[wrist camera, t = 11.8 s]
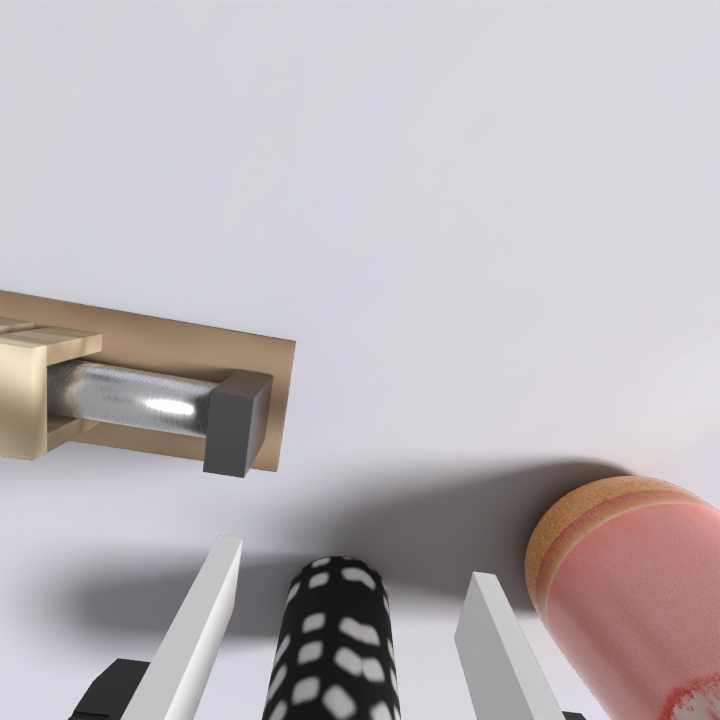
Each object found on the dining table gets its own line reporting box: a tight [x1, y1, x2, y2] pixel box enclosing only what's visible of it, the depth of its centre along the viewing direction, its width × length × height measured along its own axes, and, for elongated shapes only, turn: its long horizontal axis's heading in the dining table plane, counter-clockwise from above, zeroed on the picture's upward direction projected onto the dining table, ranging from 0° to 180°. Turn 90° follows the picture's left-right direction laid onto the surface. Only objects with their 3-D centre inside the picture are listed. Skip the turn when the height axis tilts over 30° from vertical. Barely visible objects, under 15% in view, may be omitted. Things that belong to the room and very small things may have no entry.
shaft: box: [47, 359, 273, 478], centre depth 22 cm, size 5×19×5 cm, turn 80°
